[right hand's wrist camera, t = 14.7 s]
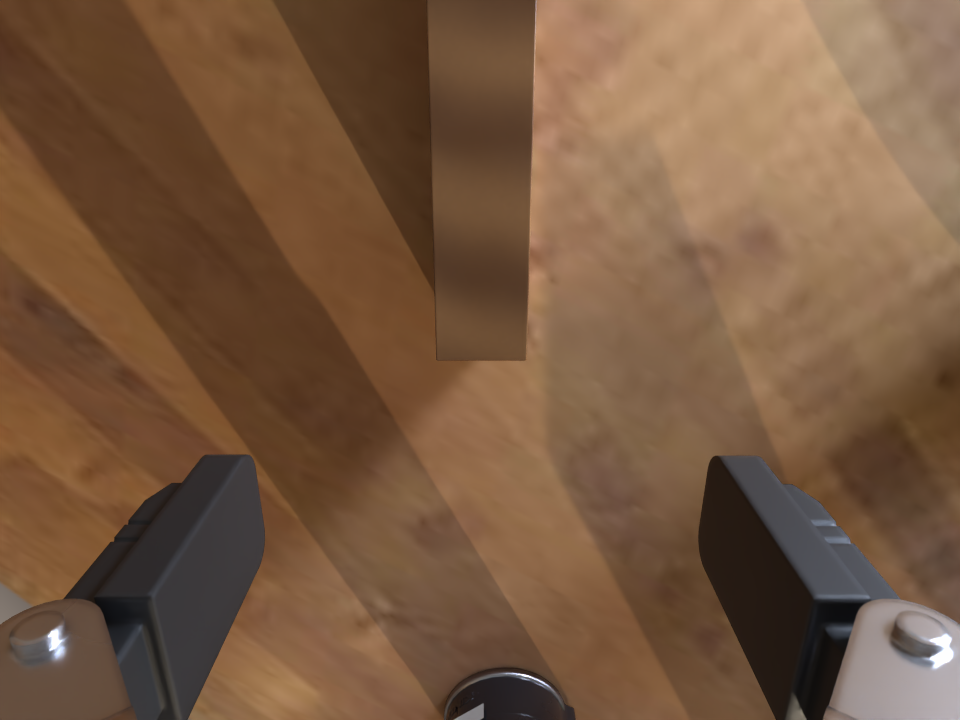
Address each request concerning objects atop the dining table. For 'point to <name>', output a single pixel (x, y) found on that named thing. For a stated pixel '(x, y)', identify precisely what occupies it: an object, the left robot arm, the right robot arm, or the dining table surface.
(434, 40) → the beam
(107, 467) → the dining table surface
